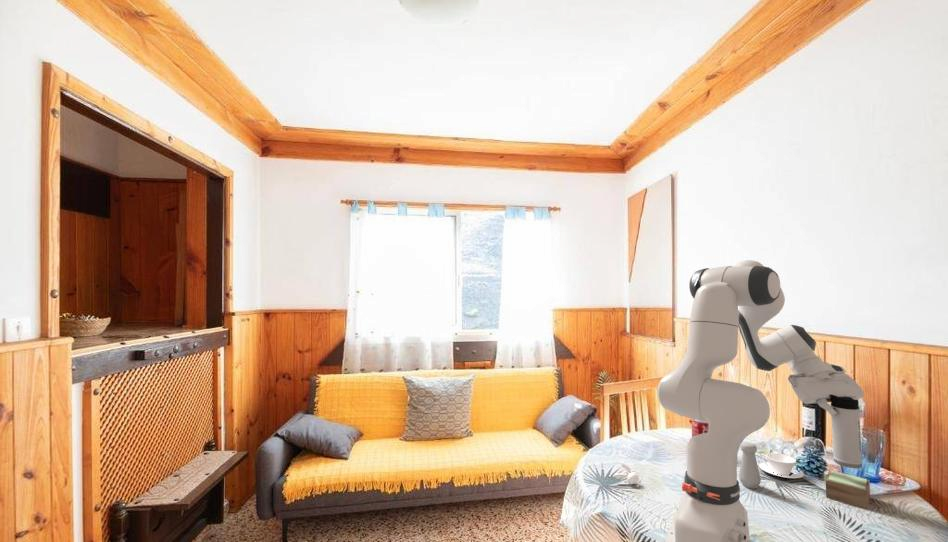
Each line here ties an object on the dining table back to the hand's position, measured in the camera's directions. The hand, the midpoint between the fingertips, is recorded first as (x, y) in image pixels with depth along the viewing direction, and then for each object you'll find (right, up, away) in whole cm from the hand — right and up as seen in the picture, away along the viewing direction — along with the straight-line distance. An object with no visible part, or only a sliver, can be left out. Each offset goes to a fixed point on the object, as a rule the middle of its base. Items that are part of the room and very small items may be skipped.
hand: (846, 414), depth 121 cm
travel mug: (0, -15, 0) cm, 15 cm away
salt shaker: (-24, -25, +7) cm, 35 cm away
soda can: (-24, -26, +33) cm, 49 cm away
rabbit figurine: (-61, -26, +10) cm, 67 cm away
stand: (0, -24, 0) cm, 24 cm away
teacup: (-8, -25, +15) cm, 31 cm away
